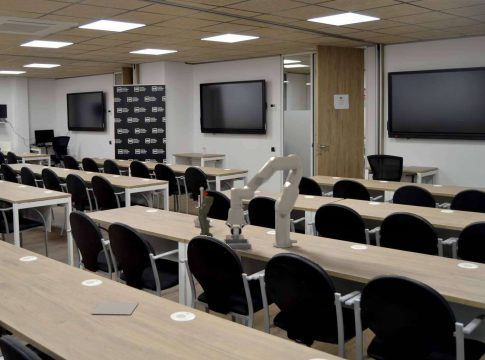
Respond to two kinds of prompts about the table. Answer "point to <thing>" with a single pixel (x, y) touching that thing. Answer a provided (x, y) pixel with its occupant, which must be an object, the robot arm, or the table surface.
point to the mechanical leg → (205, 215)
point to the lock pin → (235, 232)
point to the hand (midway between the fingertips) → (235, 234)
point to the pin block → (232, 237)
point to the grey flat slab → (114, 308)
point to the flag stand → (201, 204)
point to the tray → (238, 243)
